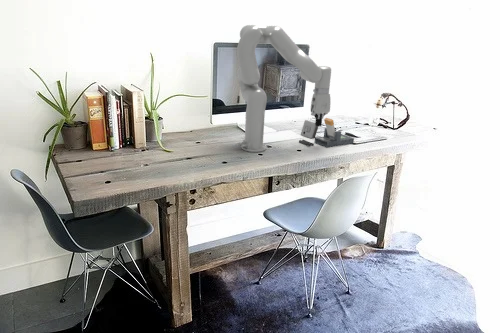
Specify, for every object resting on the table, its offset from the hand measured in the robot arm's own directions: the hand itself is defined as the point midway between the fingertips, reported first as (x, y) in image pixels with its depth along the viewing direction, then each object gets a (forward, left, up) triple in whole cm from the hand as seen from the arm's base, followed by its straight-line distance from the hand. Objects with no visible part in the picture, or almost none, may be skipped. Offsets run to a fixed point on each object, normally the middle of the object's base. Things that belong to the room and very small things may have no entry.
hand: (318, 125), depth 204 cm
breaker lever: (+11, 0, -7) cm, 13 cm away
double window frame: (+13, 0, -11) cm, 17 cm away
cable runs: (-3, +5, -11) cm, 13 cm away
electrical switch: (+9, +17, -12) cm, 23 cm away
